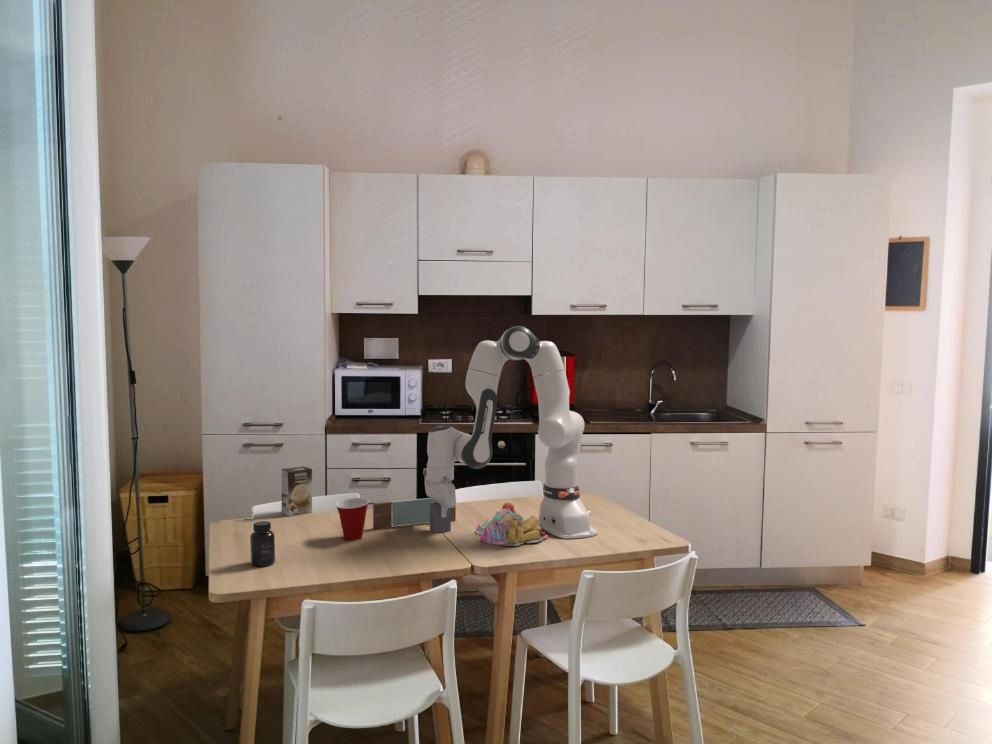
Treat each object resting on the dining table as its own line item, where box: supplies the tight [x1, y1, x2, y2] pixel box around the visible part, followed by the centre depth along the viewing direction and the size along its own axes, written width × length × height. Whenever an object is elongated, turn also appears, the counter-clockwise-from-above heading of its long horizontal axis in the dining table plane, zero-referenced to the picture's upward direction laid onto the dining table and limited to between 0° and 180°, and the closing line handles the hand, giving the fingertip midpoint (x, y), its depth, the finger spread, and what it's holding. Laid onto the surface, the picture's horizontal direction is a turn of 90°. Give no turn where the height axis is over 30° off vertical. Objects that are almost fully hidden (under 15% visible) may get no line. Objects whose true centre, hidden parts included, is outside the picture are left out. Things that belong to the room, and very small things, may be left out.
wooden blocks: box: [372, 501, 457, 530], centre depth 275 cm, size 2×29×9 cm, turn 114°
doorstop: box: [429, 503, 452, 534], centre depth 268 cm, size 4×6×9 cm, turn 114°
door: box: [391, 497, 433, 527], centre depth 275 cm, size 1×17×8 cm, turn 114°
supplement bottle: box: [249, 520, 276, 568], centre depth 233 cm, size 7×7×12 cm
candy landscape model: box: [474, 502, 550, 547], centre depth 263 cm, size 25×24×9 cm
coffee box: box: [281, 466, 313, 517], centre depth 288 cm, size 9×6×16 cm
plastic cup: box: [334, 497, 370, 541], centre depth 259 cm, size 11×11×12 cm
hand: (440, 514), depth 268 cm, fingers closed on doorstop, 4 cm apart
